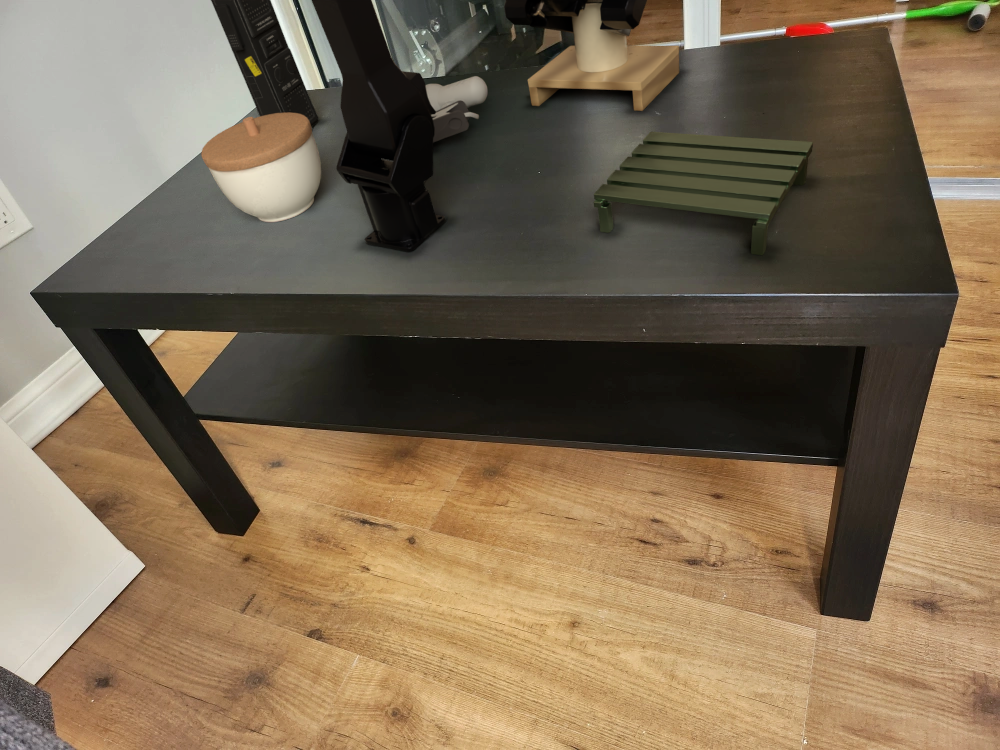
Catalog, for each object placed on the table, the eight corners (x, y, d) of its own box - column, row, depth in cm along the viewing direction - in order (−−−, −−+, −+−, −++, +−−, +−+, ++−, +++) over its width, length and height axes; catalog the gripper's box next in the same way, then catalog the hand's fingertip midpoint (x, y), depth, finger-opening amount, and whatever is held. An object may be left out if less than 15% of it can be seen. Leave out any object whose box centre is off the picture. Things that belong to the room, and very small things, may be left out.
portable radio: (295, 144, 101) (216, -53, 85) (261, 145, 103) (178, -46, 87) (322, 120, 106) (253, -70, 90) (290, 122, 108) (217, -63, 92)
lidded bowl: (348, 206, 83) (314, 114, 76) (244, 247, 80) (199, 156, 73) (321, 171, 92) (289, 86, 85) (227, 207, 89) (186, 122, 82)
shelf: (531, 105, 95) (527, 79, 93) (573, 70, 102) (570, 45, 99) (642, 111, 87) (640, 82, 85) (679, 72, 94) (678, 45, 91)
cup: (568, 72, 92) (560, 5, 87) (591, 52, 96) (584, -12, 90) (614, 73, 89) (609, 3, 83) (636, 53, 92) (632, -15, 87)
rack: (595, 233, 68) (591, 196, 65) (653, 165, 76) (652, 129, 73) (765, 258, 60) (767, 216, 57) (810, 179, 68) (814, 139, 65)
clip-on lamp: (361, 174, 96) (471, 143, 87) (335, 132, 92) (447, 96, 83) (396, 128, 103) (501, 95, 94) (372, 88, 99) (480, 49, 90)
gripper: (639, -120, 72) (694, -34, 84) (500, -106, 82) (567, -31, 95) (603, -10, 73) (662, 59, 85) (471, -10, 84) (541, 51, 96)
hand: (606, 31), depth 91 cm, fingers closed on cup, 6 cm apart
